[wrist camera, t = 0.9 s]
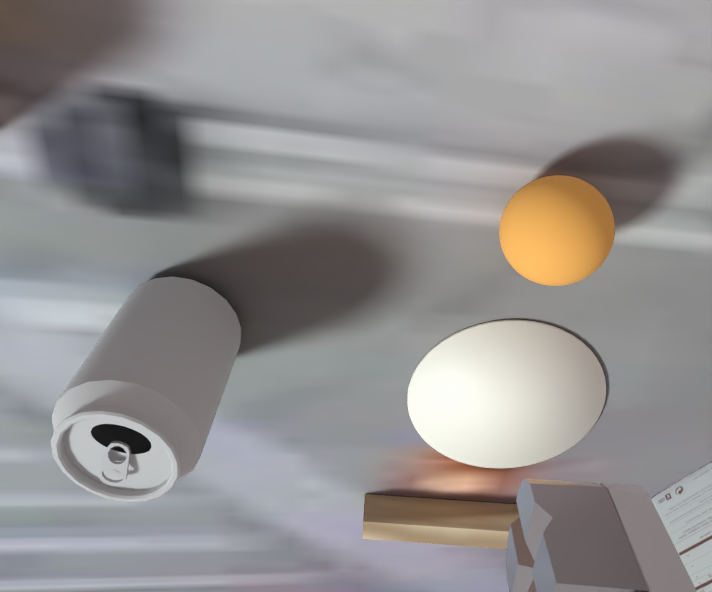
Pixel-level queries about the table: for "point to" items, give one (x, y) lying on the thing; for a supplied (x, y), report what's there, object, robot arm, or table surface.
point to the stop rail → (438, 521)
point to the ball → (557, 230)
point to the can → (147, 391)
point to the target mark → (506, 393)
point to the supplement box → (690, 523)
